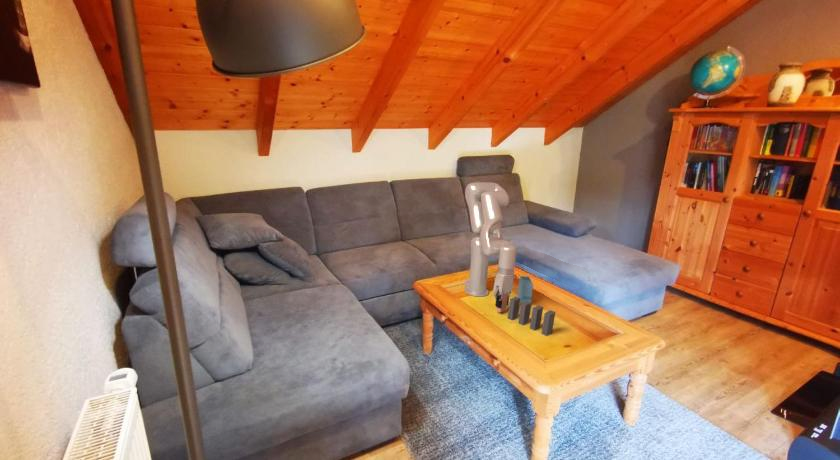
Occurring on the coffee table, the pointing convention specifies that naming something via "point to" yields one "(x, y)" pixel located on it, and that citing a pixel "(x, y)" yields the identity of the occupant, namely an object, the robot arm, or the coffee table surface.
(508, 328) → the coffee table surface
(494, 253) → the robot arm
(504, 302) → the domino
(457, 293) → the coffee table surface
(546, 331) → the domino
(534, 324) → the domino
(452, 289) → the coffee table surface
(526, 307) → the domino
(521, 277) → the data package
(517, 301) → the domino
